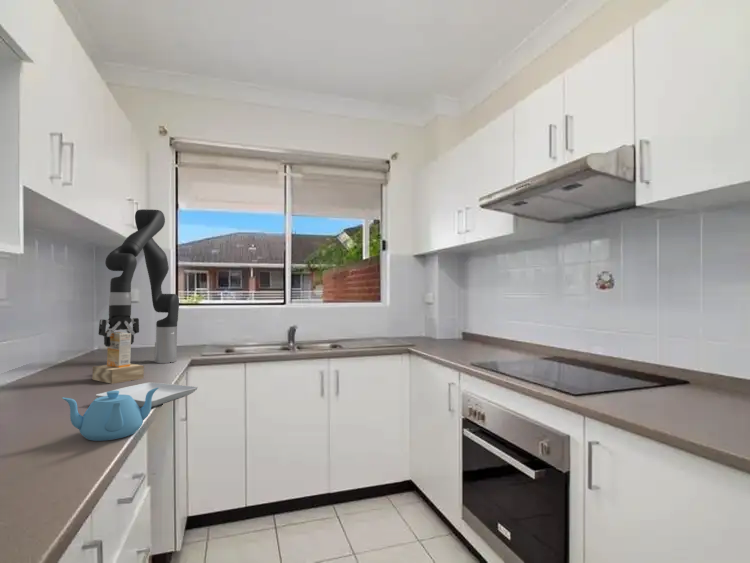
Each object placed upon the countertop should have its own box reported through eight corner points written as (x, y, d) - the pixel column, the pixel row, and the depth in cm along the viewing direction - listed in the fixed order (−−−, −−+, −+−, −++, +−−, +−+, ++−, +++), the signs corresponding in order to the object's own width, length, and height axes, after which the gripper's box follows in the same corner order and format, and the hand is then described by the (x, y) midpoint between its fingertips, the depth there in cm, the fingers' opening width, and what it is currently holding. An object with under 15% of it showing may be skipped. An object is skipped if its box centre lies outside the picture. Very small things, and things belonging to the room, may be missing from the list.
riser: (92, 379, 166) (92, 366, 166) (123, 374, 176) (124, 362, 176) (111, 383, 159) (112, 370, 159) (143, 378, 169) (143, 365, 169)
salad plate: (199, 395, 143) (200, 385, 143) (149, 412, 123) (150, 400, 123) (148, 391, 149) (148, 381, 149) (92, 406, 129) (93, 394, 129)
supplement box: (106, 366, 168) (107, 332, 168) (118, 364, 172) (119, 331, 172) (118, 368, 163) (119, 333, 164) (130, 366, 168) (131, 332, 168)
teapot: (110, 423, 112) (111, 383, 112) (161, 426, 109) (162, 386, 109) (59, 442, 97) (60, 396, 98) (116, 447, 95) (117, 400, 95)
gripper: (132, 303, 176) (131, 343, 176) (95, 304, 164) (94, 346, 164) (143, 303, 172) (142, 344, 172) (106, 304, 160) (105, 348, 160)
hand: (119, 345), depth 168 cm, fingers open, 8 cm apart
